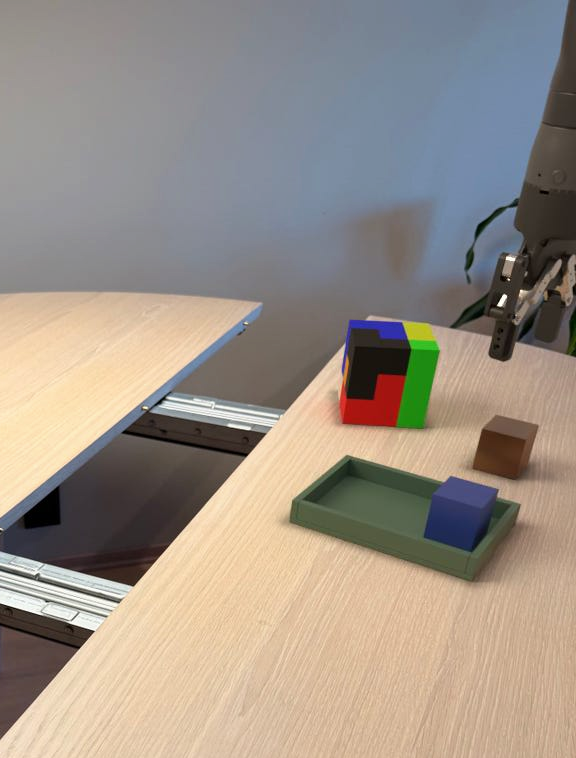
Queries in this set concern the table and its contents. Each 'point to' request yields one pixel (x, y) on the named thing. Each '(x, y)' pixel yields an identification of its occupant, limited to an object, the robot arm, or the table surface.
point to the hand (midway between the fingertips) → (521, 349)
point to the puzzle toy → (387, 373)
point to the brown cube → (505, 446)
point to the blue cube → (460, 513)
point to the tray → (392, 515)
